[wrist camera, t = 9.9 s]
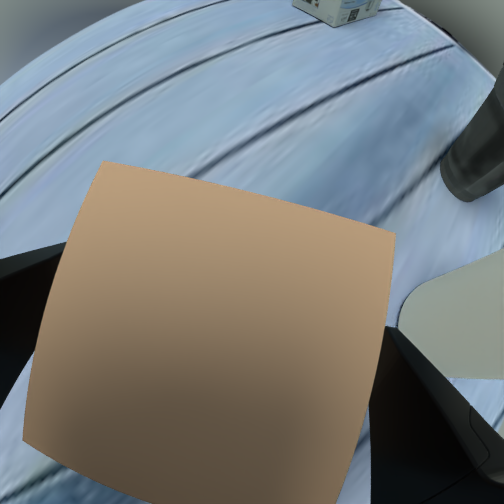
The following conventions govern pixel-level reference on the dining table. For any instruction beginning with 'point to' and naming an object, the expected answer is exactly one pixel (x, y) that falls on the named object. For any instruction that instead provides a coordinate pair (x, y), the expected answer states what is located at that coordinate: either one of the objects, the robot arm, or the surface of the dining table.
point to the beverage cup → (478, 150)
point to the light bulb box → (339, 10)
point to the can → (460, 319)
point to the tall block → (208, 343)
